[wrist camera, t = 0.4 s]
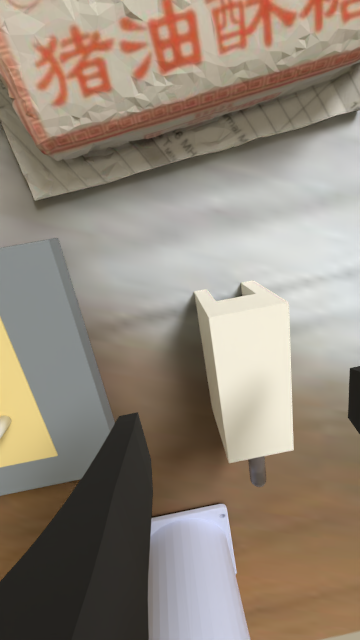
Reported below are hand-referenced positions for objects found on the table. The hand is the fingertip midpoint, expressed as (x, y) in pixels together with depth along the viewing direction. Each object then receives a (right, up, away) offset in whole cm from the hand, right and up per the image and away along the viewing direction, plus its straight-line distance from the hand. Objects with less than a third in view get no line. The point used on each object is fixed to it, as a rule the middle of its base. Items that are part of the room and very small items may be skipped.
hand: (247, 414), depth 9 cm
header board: (-14, -1, +9) cm, 16 cm away
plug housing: (+2, 0, +11) cm, 11 cm away
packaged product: (-3, +17, +5) cm, 17 cm away
